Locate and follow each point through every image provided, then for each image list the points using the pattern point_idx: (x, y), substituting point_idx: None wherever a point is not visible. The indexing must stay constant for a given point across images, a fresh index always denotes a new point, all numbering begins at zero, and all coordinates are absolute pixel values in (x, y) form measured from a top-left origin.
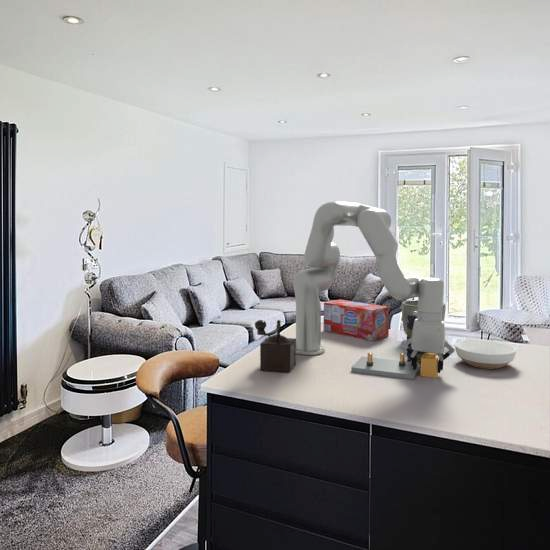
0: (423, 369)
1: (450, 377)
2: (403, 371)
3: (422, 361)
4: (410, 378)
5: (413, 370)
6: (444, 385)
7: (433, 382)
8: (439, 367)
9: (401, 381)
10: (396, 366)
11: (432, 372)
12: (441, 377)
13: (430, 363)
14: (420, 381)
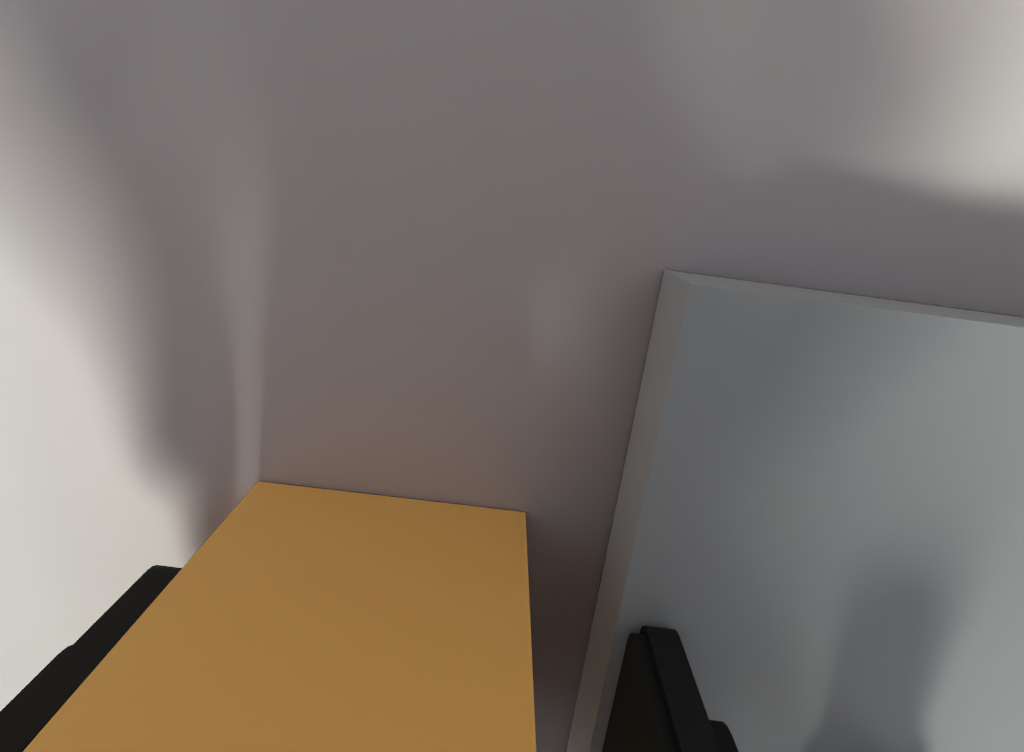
0: (470, 586)
1: (35, 565)
2: (882, 466)
3: (490, 743)
4: (720, 279)
5: (668, 576)
6: (48, 68)
7: (278, 205)
8: (88, 641)
9: (912, 78)
10: (973, 721)
11: (292, 539)
12: (175, 528)
13: (264, 689)
14: (526, 195)
